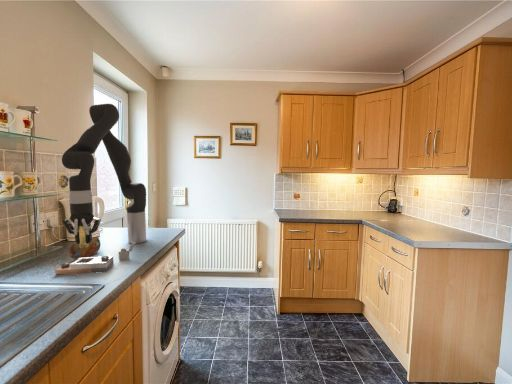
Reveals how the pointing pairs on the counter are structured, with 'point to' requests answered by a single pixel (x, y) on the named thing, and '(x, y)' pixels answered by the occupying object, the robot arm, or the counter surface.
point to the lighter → (125, 252)
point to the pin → (82, 237)
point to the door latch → (86, 265)
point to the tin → (84, 249)
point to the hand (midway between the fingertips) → (83, 243)
